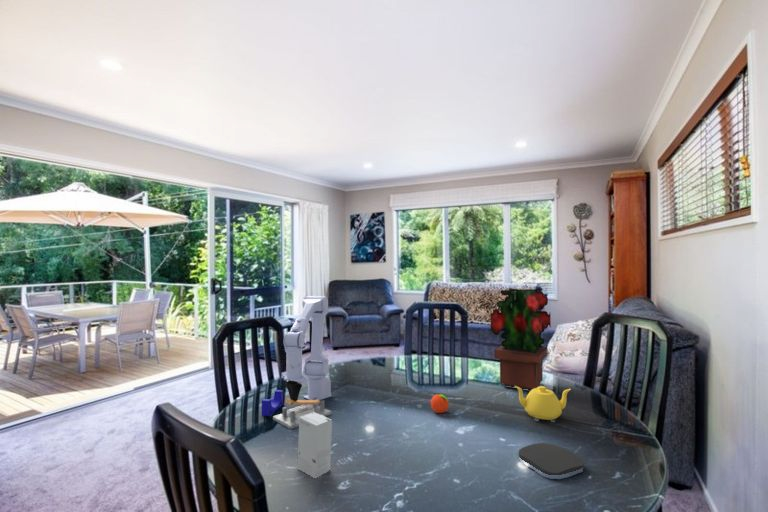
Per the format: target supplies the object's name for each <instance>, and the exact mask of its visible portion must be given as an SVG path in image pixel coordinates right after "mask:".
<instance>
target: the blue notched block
mask: <svg viewBox="0 0 768 512" xmlns="http://www.w3.org/2000/svg"><path fill="white" fill-rule="evenodd" d="M283 405H284V390H281V389H276V390H274V396H273V397H271V398H268V399H267V398H263V399H262V400H261V416H262V417H270V416H271V415H272V414H274V413H275V412H276V411H278V409H280V408H281V407H282V406H283Z"/></svg>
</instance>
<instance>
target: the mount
mask: <svg viewBox="0 0 768 512" xmlns="http://www.w3.org/2000/svg"><path fill="white" fill-rule="evenodd" d="M315 399H317V397H315V398H313V400H315ZM325 403H326V402H325V399H322V400H320V405H319V404H306V405H299V406H298V405H297V406H295V407H293V408H289V409H288V407H286V406H284V407H282V410H281V411H282V413H280V414H276V415H273V416H272V420H273V421H275V422H276V423H278V424H281V425H282V426H284V427H286V428H288V429H289V430H292V429H295V428H297V427H298V428H299V417H301V416H304V415H307V414H310V413H313V412H315V413H318V414H320V415H323V416H325V417H327V416H330V415H332V411H331V410H329V409H327V408H325V407H326V406H325V405H326V404H325Z"/></svg>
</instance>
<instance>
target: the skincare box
mask: <svg viewBox="0 0 768 512" xmlns="http://www.w3.org/2000/svg"><path fill="white" fill-rule="evenodd" d="M332 431H333V420H332V419H330V418H329V417H327V416H323V415H320V414H318V413H315V412H313V413H310V414H307V415H304V416H301V417H299V426H298V439H297V440H298V443H297V445H298V446H297V464H296V465H297V467H296V468H297V470H299V471H301V472H303V473H304V472H305V473H304V474H307V476H309V475H310V477H311V478H312V477H313V479H314V478H316V479H318V478H320V477H322V476H323V475H322V474H324V473H326V472H327V471H329V470H330V471H331V463H332V461H331V460H332V459H331V458H332ZM330 471H329V472H330ZM326 474H327V473H326ZM321 475H322V476H321ZM324 475H325V474H324ZM319 476H320V477H319ZM317 477H318V478H317Z"/></svg>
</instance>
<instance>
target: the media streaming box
mask: <svg viewBox="0 0 768 512" xmlns="http://www.w3.org/2000/svg"><path fill="white" fill-rule="evenodd" d="M519 457H520V458H521V459H522V460H524V461H525V462H527V463H529V464H530V465H532V466H533V467H535V468H536V469H538V470H540V471H541V472H543V473H545V474H548V475H562V474H566V473H569V472H573V471H576V470H579V469H581V468H583V467H584V468H585V462H584V460H583V459H582V458H581V457H579V455H577V454H575V453H574V452H573V451H570V450H568V449H567V448H564V447H562V446H561V445H560V446H559V445H558V444H554V443H553V444H552V443H544V442H542V443H541V442H539V443H538V442H537V443H532V444H529V445H527V446H523V447H522V448H520V449H519V450H518V458H519Z"/></svg>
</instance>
